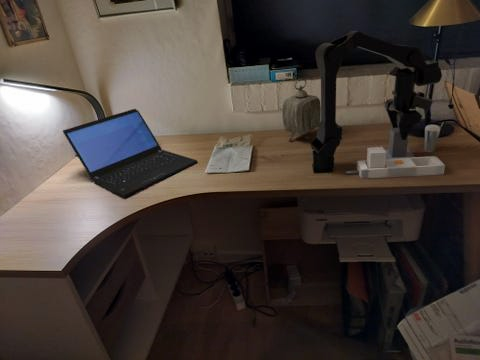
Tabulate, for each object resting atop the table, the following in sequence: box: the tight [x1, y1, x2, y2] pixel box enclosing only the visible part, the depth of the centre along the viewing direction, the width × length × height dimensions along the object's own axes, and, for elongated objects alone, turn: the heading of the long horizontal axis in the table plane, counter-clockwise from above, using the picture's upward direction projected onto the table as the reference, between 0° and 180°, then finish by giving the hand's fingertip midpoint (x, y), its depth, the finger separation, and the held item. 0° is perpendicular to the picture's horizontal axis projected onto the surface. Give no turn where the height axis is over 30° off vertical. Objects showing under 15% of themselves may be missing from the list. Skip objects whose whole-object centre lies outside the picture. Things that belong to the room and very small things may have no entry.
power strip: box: [345, 155, 446, 179], centre depth 105 cm, size 28×7×4 cm, turn 83°
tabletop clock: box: [281, 77, 321, 142], centre depth 135 cm, size 14×9×25 cm, turn 133°
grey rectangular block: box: [388, 127, 410, 158], centre depth 113 cm, size 4×4×9 cm
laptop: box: [62, 108, 198, 198], centre depth 129 cm, size 33×38×19 cm
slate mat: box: [384, 147, 416, 159], centre depth 115 cm, size 10×10×1 cm
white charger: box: [366, 146, 386, 169], centre depth 105 cm, size 4×4×8 cm
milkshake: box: [423, 121, 444, 153], centre depth 114 cm, size 4×5×10 cm
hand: (399, 134), depth 112 cm, fingers open, 9 cm apart
